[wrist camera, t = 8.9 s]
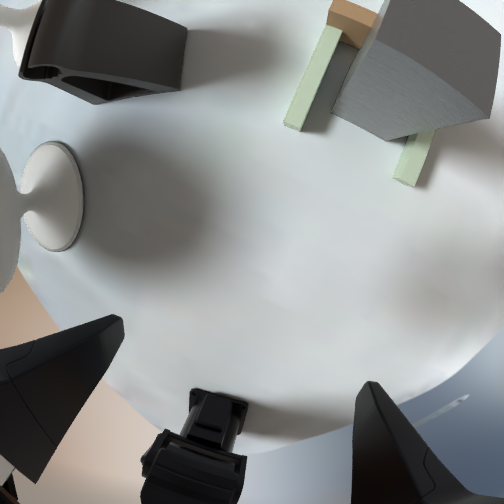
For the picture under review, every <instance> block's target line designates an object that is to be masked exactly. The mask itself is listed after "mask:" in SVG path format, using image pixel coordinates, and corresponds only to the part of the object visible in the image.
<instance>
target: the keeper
mask: <svg viewBox="0 0 504 504" xmlns="http://www.w3.org/2000/svg"><path fill="white" fill-rule="evenodd" d="M376 16H377V13H375V12H373V11H370V10H368V9H366V8H364V7H361V6H359V5H356V4H354V3H351V2H349V1H346V0H333V2H332V4H331V6H330V8H329V11H328V17H327V23H326V26H325V28H324V31H323V33H322V35H321V37H320V39H319V41H318V44H317V46H316V48H315V50H314V52H313V55H312V57H311V59H310V61H309V64H308V66H307V68H306V70H305V72H304V75H303V77H302V79H301V82H300V84H299V86H298V88H297V91H296V93H295V95H294V97H293V100H292V102H291V104H290V107H289V109H288V111H287V114H286V116H285V118H284V121H283V123H284V126H287V127H289V128H292V129H294V130H297V131H299V132H300V131H301V129H302V126H303V124H304V122H305V119H306V117H307V115H308V112H309V110H310V108H311V105H312V103H313V101H314V98H315V96H316V94H317V91H318V89H319V87H320V84H321V82H322V80H323V77H324V75H325V73H326V70H327V68H328V66H329V63H330V61H331V59H332V56H333V54H334V52H335V49H336V47H337V45H338V43H339V41H342V42H344V43H346V44H349V45H351V46H353V47H356V48H358V49H360V47H361V45H362V43H363V41H364V40H365V38H366V36H367V34H368V32H369V30H370V28H371V26H372V24H373V22H374V20H375V18H376ZM435 131H436V129H433V130H429V131H424V132H420V133H416V134H412V135H409V137H408V139H407V142H406V145H405V147H404V150H403V152H402V155H401V157H400V160H399V162H398V165H397V167H396V169H395V172H394V174H393V177H392V178H394V179H396V180H398V181H399V182H401V183H403V184H404V185H408V186H412V187H414V186H415V184H416V181H417V179H418V176H419V174H420V171H421V169H422V166H423V164H424V161H425V159H426V156H427V153H428V151H429V148H430V145H431V142H432V139H433V137H434V134H435Z"/></svg>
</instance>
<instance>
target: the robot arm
mask: <svg viewBox="0 0 504 504" xmlns="http://www.w3.org/2000/svg"><path fill="white" fill-rule="evenodd" d="M124 335H125V333H124V325H123V319H122V318H121V317H119V316H117V315H114V314H111V315H108V316H105V317H102V318H99V319H96V320H93V321H91V322H88V323H85V324H82V325H79V326H76V327H73V328H70V329H67V330H64V331H61V332H58V333H55V334H52V335H48V336H45V337H43V338H39V339H37V340H33V341H30V342H27V343H23V344H20V345H17V346H13V347H9V348H4V349H0V504H20V503H19V502H18V501H17V500H18V497H17V493H16V489H15V484H14V480H13V475H12V472H13V471H14V469H15V468H16V469H17V470H18V471H19V472H21V473H22V474H23V475H25V476H26V477H27V478H28V479H29V480H31V481H32V482H33V483H35V484H36V483H37V481H38V480H39V478H40V476H41V474H42V473H43V471H44V469H45V467H46V466H47V464H48V462H49V460H50V459H51V457H52V455H53V454H54V452H55V450H56V449H57V447H58V445H59V443H60V442H61V440H62V438H63V437H64V435H65V434H66V432H67V430H68V429H69V427H70V425H71V424H72V422H73V421H74V419H75V418H76V416H77V415H78V413H79V411H80V410H81V408H82V407H83V405H84V404H85V402H86V401H87V399H88V398H89V396H90V395H91V393H92V391H93V390H94V389H95V387H96V386H97V384H98V383H99V381H100V380H101V378H102V377H103V375H104V374H105V372H106V371H107V369H108V367H109V366H110V364H111V362H112V360H113V358H114V356H115V354H116V353H117V351H118V349H119V347H120V345H121V343H122V342H123V340H124ZM247 410H248V404H247V403H246V402H242V401H238V400H234V399H230V398H226V397H222V396H218V395H215V394H211V393H208V392H204V391H201V390H198V389H191V391H190V397H189V415H188V417H187V420H186V422H185V424H184V426H183V428H182V431H181V433H180V435H178V434H175V433H173V432H170V430H168V429H165V430H164V431H163V433H160V434H158V436H157V437H156V440H155V441H154V443H153V445H152V446H151V447H150V448H149V449H148V450H147V451H146V453H145V454H144V455H143V456H142V458H141V463H142V465H143V467H142V476H143V477H145V478H146V480H145V482H144V485H143V487H142V490H141V495H140V497H141V503H142V504H237V502H238V500H239V498H240V495H241V492H242V489H243V485H244V478H245V470H246V463H247V456H244V455H242V456H241V455H237V454H234V453H232V450H233V447H234V443H235V440H236V436H237V435H239V434H240V433H241V430H242V427H243V423H244V420H245V417H246V413H247ZM352 442H353V456H352V459H353V462H352V494H351V504H504V498H498V497H491V496H484V495H478V494H475V493H472V492H470V491H469V490H467V489H466V488H465V487H464V486H463V485H462V484H461V483H460V482H459V481H458V480H457V479H456V478H455V477H454V476H453V475H452V473H450V471H449V470H448V469H447V468H446V467H445V466H444V465H443V464H442V463H441V461H440V460H439V459H438V458H437V456H436V455H435V454H434V453H433V452H432V450H431V449H430V448H429V447H428V445H427V444H426V442H425V441H424V440H423V439H422V437H421V436H420V435H419V434H418V432H417V431H416V430H415V428H414V427H413V426H412V425H411V424H410V422H409V421H408V419H407V418H406V417H405V416H404V414H403V413H402V412H401V411H400V409H399V408H398V407H397V406H396V404H395V403H394V402H393V400H392V399H391V398H390V397H389V395H388V394H387V393H386V392H385V390H384V389H383V388H382V387H381V385H380V384H379V383H378V382H374V381H367V382H366V383H365V384H364V386H363V387H362V389H361V390H360V392H359V393H358V395H357V397H356V402H355V415H354V426H353V440H352Z"/></svg>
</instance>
